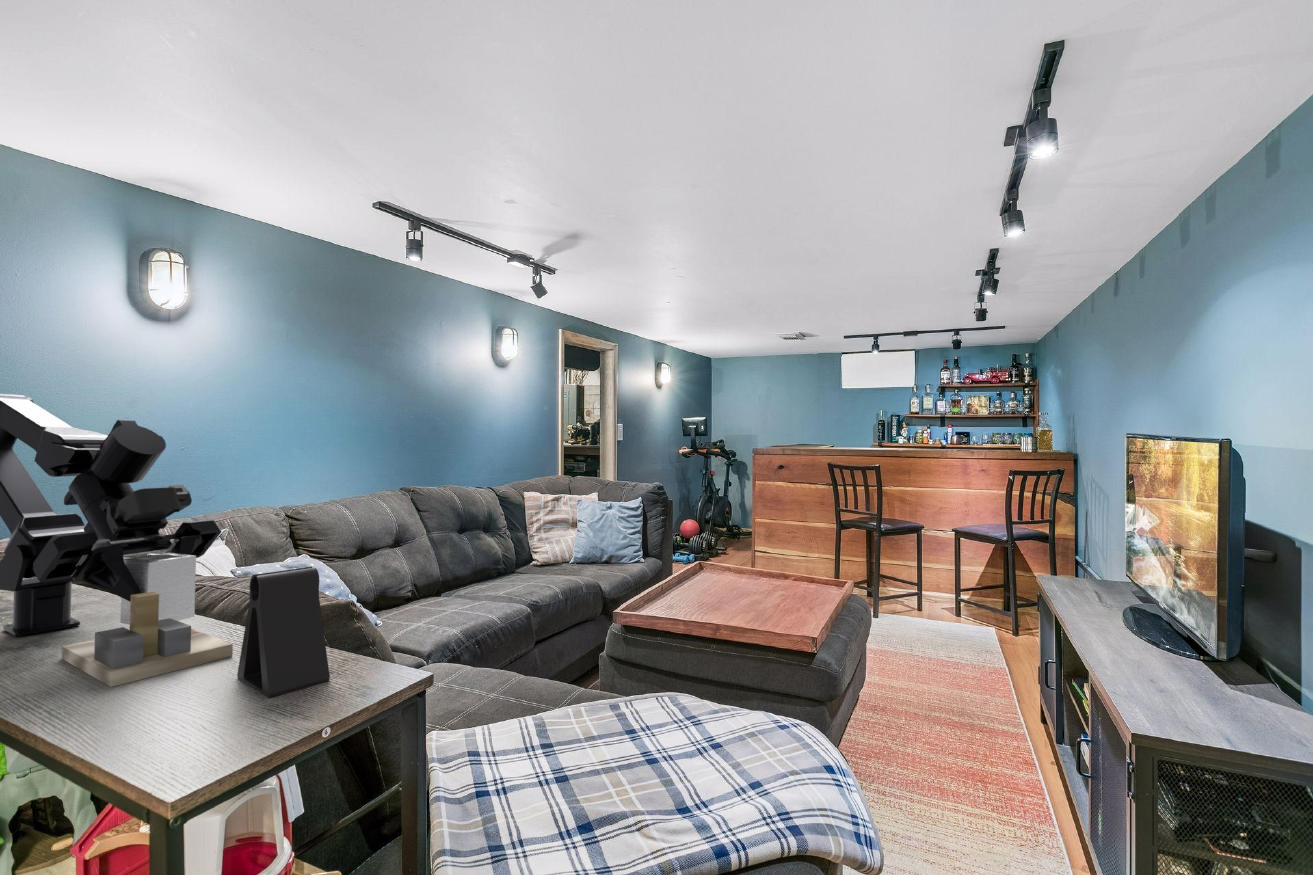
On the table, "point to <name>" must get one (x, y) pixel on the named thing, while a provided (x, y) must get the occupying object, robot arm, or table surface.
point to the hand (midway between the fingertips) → (165, 596)
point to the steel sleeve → (165, 584)
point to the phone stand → (284, 633)
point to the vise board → (151, 663)
